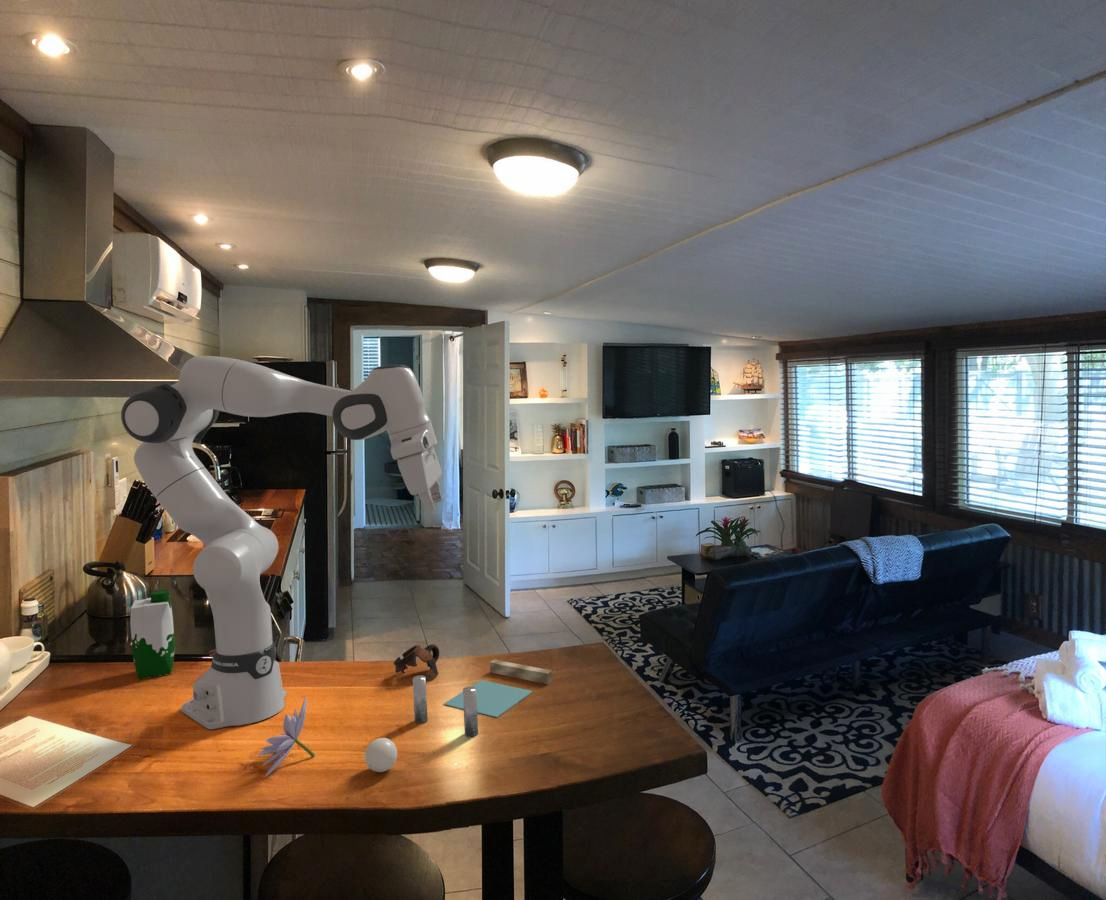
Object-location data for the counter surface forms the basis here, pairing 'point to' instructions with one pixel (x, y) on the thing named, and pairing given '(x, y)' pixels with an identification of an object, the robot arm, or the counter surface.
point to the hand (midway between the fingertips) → (434, 506)
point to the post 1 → (420, 699)
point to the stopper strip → (521, 671)
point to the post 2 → (470, 711)
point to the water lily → (286, 739)
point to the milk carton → (152, 635)
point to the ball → (381, 755)
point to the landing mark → (492, 698)
